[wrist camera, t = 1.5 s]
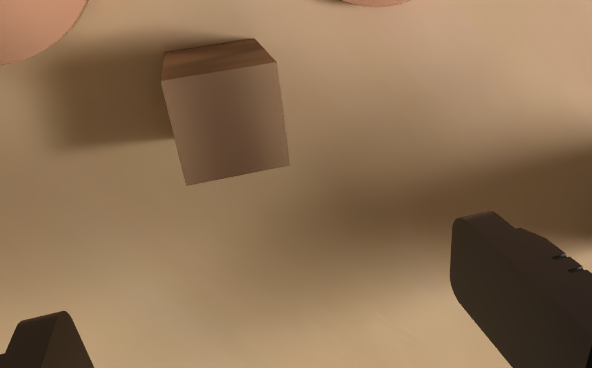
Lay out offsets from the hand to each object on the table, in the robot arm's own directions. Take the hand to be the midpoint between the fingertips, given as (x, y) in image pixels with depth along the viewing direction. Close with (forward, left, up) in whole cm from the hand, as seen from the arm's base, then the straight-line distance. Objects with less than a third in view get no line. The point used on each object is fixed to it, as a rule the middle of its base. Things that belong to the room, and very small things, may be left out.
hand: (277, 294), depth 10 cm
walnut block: (0, 0, -17) cm, 17 cm away
